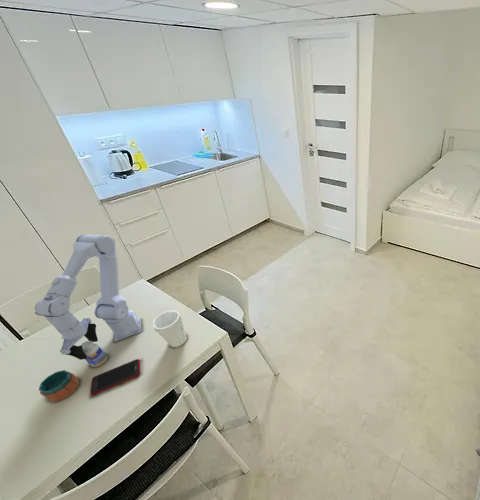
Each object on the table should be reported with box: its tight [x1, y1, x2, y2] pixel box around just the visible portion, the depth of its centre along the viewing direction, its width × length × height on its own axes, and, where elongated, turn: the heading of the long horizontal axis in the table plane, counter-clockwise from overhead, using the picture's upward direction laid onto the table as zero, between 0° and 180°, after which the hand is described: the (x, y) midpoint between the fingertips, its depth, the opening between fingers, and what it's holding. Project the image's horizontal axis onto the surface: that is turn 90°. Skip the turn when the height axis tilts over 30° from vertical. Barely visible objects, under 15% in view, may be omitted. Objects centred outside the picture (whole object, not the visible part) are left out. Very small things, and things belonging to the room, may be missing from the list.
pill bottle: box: [79, 340, 108, 368], centre depth 108 cm, size 5×5×10 cm
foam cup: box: [151, 309, 187, 348], centre depth 114 cm, size 10×9×13 cm
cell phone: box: [90, 358, 141, 396], centre depth 104 cm, size 8×15×1 cm, turn 122°
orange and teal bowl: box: [38, 369, 80, 403], centre depth 100 cm, size 9×9×6 cm
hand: (89, 349), depth 106 cm, fingers open, 7 cm apart
